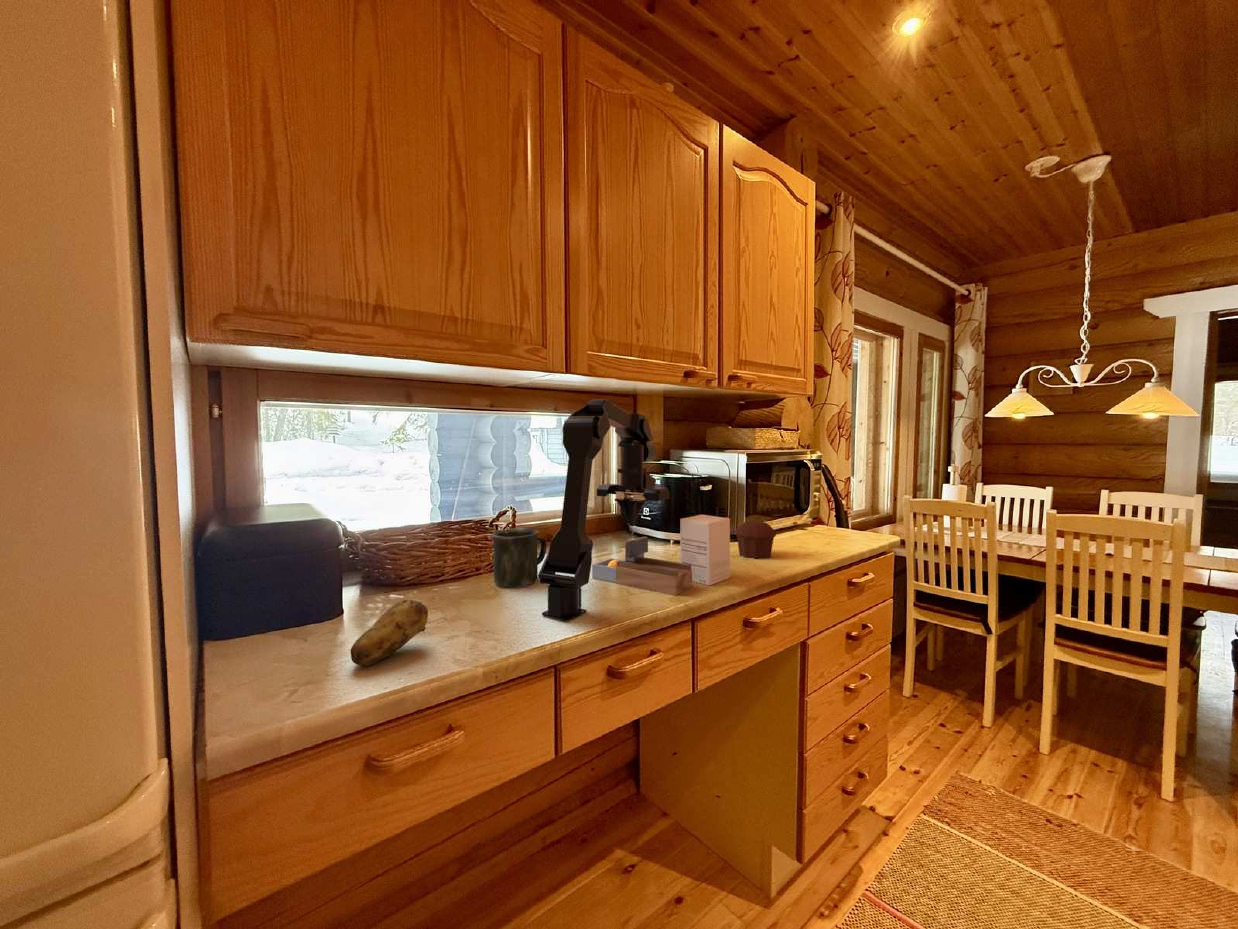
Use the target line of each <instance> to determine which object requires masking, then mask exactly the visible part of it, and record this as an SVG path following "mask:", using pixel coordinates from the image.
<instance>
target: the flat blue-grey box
mask: <svg viewBox="0 0 1238 929" xmlns="http://www.w3.org/2000/svg"><path fill="white" fill-rule="evenodd" d="M612 560H619V561H625V559H618V558H613V557H609V558H607V559H604V560H601V561H597V562H595V563H592V564H591V571H592V572H591V573H592V577H591V578H592V579H593V578H596V579H595V580H597V579H600V580H599V581H602V580H603V582H609V583H612V582H614V583H613V584H616V568H614V567H608V564H609V562H610V561H612Z"/></svg>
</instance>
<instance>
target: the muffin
mask: <svg viewBox="0 0 1238 929" xmlns="http://www.w3.org/2000/svg"><path fill="white" fill-rule="evenodd" d="M734 533H735V535H736V538H737V545H738V552H739V556H740V557H742V556H743V558H746V559H751V558H753V559H752V560H765V558H766V559H769V558H771V555H772V550H773V544H774V538H775V537H776V536H777V534H776V531H775V530H774V528H773V527H772V526H771V525H770V524H769V523H767V522H765V521H763V520H756V519H755V520H754V519H753V520H751V519H750V520H746V521H744V522H742V523H741V524H739V525H738V526H737V528H736V530H735V531H734Z"/></svg>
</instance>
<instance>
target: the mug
mask: <svg viewBox="0 0 1238 929" xmlns="http://www.w3.org/2000/svg"><path fill="white" fill-rule="evenodd" d="M538 535H540V531H539V530H537V529H533V528H522V527H521V528H517V527H516V528H506V529H499V530H496V531H494V532H492V533H491V535H490V536H491V537H492V538H493V539H492V541H493V542H492V543H493V544H492V545H493V546H492V547H493V582H494V583H495V585H496V586H498V587H500V588H501V587H502V588H521V587H527V586H530V585H533V584H535V583H537V580H539V577H538V574H539V572H538V571H539V570H538V568H539V567H538V566H539V565H540V564H541V563H543V562H544V560H545V558H546V557H545V556H546V553H547V541H546V540H545V538H544V537H542V536H541V537H540V536H538ZM538 541H539V542H540V549H539V554H538Z"/></svg>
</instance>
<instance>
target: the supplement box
mask: <svg viewBox="0 0 1238 929" xmlns="http://www.w3.org/2000/svg"><path fill="white" fill-rule="evenodd" d="M679 520H680V521H679V522H680V524H679V525H680V526H679V527H680V528H679V530H680V531H679V532H680V533H679V538H680V539H679V540H680V541H679V542H680V543H679V544H680V546H679V548H680V551H679V552H680V554H679V555H680V556H679V559H680V560H679V561H680V562H679V563H683V564H689V565H691V569H692V583H696V582H697V583H698V584H701V585H704V586H712V585H715V584H717V583H719V582H723V581H726V580H728V579H730V578H731V574H730V573H731V554H730V553H731V519H730V518H729V517H721V516H714V515H708V514H698V515H697V514H696V515H693V516H689V517H684V518H679Z"/></svg>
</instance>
